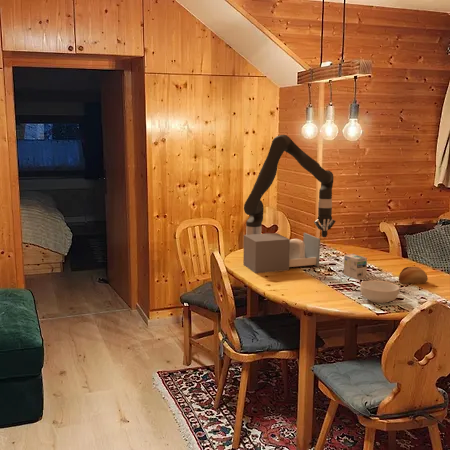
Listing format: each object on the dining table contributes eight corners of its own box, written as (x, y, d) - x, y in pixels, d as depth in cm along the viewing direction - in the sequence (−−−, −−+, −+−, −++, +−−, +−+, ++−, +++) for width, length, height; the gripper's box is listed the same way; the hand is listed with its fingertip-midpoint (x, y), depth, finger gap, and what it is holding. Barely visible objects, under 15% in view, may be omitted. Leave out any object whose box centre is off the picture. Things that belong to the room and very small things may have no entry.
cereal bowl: (381, 309, 232) (382, 293, 231) (351, 299, 245) (352, 284, 244) (406, 302, 242) (407, 286, 241) (376, 292, 255) (377, 278, 254)
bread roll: (393, 281, 274) (394, 265, 272) (420, 279, 277) (421, 264, 276) (404, 286, 265) (405, 270, 263) (431, 284, 268) (432, 269, 267)
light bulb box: (366, 277, 279) (367, 257, 277) (356, 279, 276) (357, 258, 274) (353, 272, 289) (353, 253, 287) (342, 274, 286) (343, 254, 284)
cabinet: (243, 264, 304) (243, 235, 301) (275, 262, 310) (276, 232, 307) (255, 273, 287) (255, 241, 284) (289, 270, 293) (289, 239, 290)
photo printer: (287, 259, 307) (287, 237, 305) (293, 258, 310) (293, 237, 307) (299, 263, 299) (300, 241, 297) (305, 262, 301) (306, 240, 299)
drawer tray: (273, 261, 310) (273, 234, 307) (304, 258, 316) (305, 232, 313) (286, 269, 293) (287, 241, 290) (319, 266, 299) (320, 238, 296)
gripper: (332, 205, 309) (331, 235, 313) (311, 206, 305) (310, 236, 308) (339, 206, 302) (338, 237, 306) (317, 208, 298) (316, 239, 301)
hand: (324, 236), depth 307 cm, fingers closed
